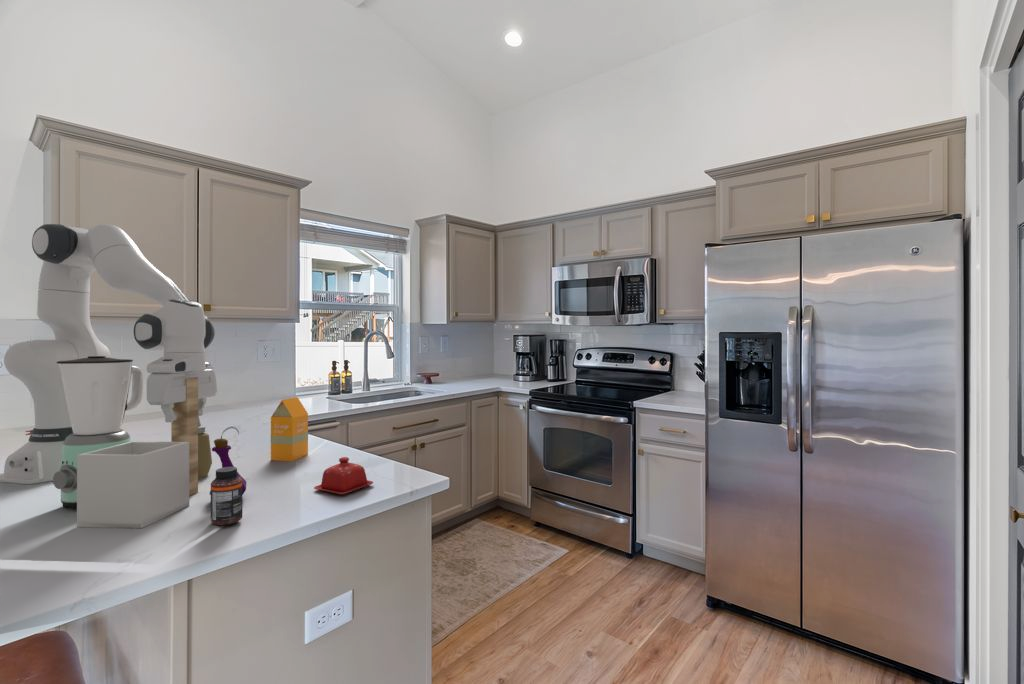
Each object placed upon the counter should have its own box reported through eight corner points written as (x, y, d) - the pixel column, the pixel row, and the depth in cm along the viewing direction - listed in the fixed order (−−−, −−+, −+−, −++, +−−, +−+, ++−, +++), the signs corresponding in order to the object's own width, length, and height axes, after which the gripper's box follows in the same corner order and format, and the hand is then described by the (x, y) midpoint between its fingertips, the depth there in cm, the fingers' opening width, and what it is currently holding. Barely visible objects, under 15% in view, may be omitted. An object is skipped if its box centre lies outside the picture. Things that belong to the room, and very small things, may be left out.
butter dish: (310, 492, 128) (310, 459, 127) (345, 481, 138) (345, 450, 138) (342, 499, 122) (342, 464, 122) (376, 487, 132) (376, 455, 132)
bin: (77, 526, 103) (76, 454, 103) (132, 504, 117) (132, 441, 117) (141, 528, 102) (141, 455, 102) (189, 505, 116) (189, 441, 116)
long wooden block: (171, 497, 123) (171, 376, 122) (183, 492, 127) (182, 375, 126) (186, 497, 122) (186, 376, 122) (198, 492, 126) (198, 375, 126)
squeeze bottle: (218, 474, 143) (218, 412, 143) (198, 482, 135) (198, 416, 135) (192, 473, 144) (192, 411, 144) (171, 481, 136) (171, 416, 136)
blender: (81, 516, 109) (81, 357, 109) (35, 511, 112) (35, 357, 112) (160, 491, 127) (160, 355, 127) (119, 487, 130) (119, 354, 130)
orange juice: (270, 462, 157) (270, 399, 157) (287, 456, 166) (287, 396, 166) (292, 463, 156) (292, 400, 156) (308, 457, 165) (308, 397, 165)
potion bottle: (209, 507, 115) (209, 430, 115) (211, 498, 121) (211, 425, 121) (246, 503, 118) (246, 427, 118) (246, 494, 125) (246, 423, 125)
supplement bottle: (219, 516, 109) (219, 465, 109) (247, 515, 109) (247, 464, 109) (204, 526, 103) (204, 472, 103) (234, 526, 104) (234, 472, 103)
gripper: (201, 362, 135) (200, 412, 135) (140, 365, 114) (140, 425, 114) (223, 362, 135) (223, 412, 135) (166, 366, 114) (166, 425, 114)
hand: (184, 418), depth 124 cm, fingers open, 8 cm apart
